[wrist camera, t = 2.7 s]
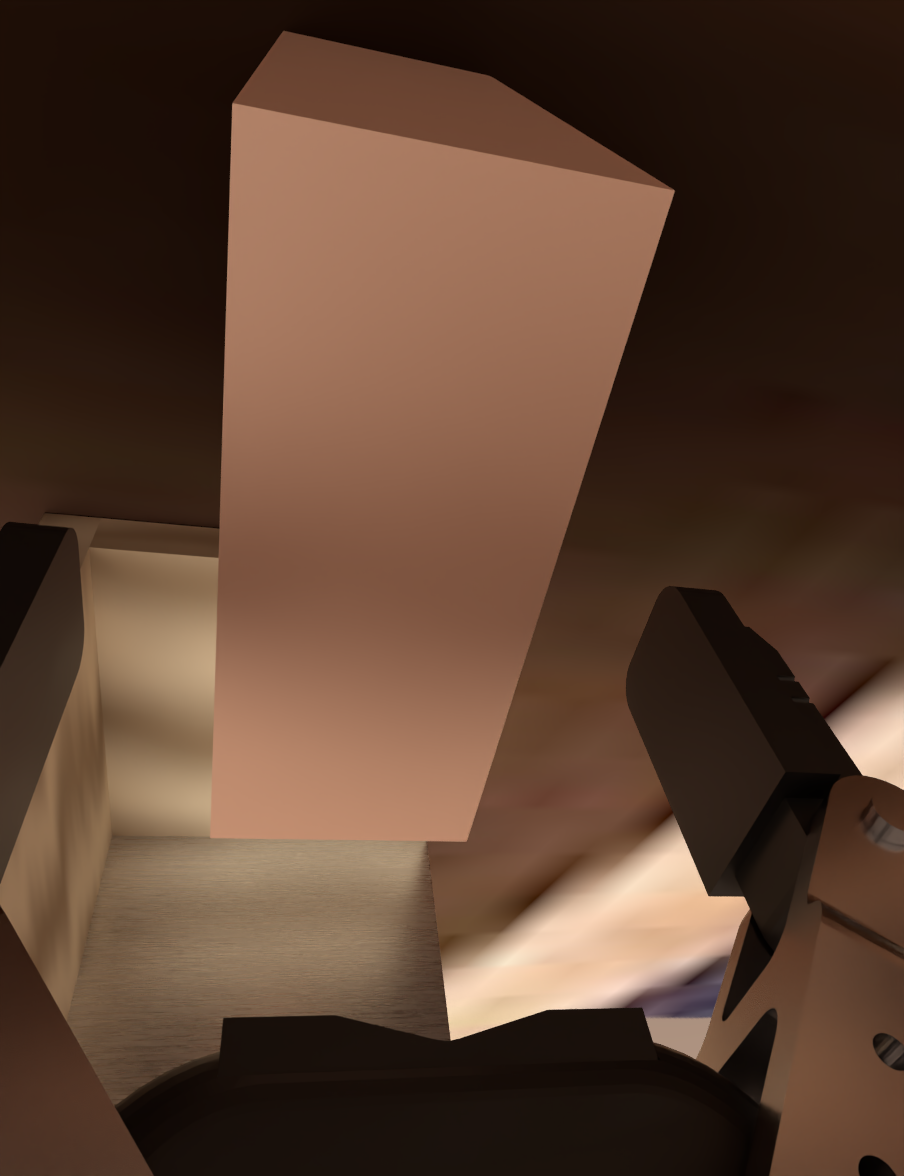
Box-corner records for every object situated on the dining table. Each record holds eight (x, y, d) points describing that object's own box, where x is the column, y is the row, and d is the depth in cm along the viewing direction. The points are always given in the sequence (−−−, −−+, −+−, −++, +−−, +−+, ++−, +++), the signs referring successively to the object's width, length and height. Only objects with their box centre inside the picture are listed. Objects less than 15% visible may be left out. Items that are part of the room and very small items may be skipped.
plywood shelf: (44, 512, 23) (-199, 982, 12) (489, 553, 26) (607, 965, 15) (80, 826, 31) (-48, 1276, 20) (416, 831, 34) (460, 1230, 23)
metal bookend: (112, 835, 29) (22, 1200, 21) (426, 839, 32) (465, 1168, 23) (114, 860, 30) (29, 1222, 21) (420, 862, 33) (455, 1188, 24)
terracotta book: (283, 30, 17) (232, 102, 8) (490, 75, 18) (674, 191, 9) (256, 486, 23) (210, 838, 14) (411, 502, 24) (466, 841, 15)
